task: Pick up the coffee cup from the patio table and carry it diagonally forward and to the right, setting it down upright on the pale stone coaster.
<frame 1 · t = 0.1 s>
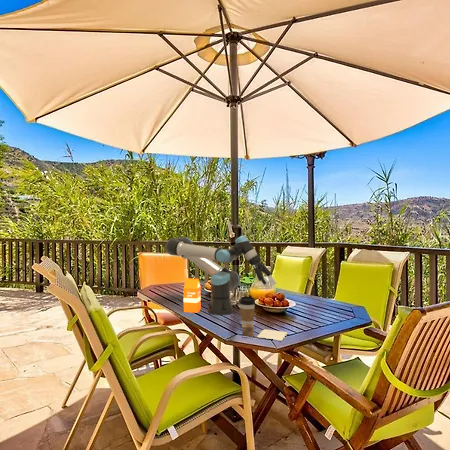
hand: (272, 286, 204), 15 cm above the table, tool tilted 35°, fingers open, 13 cm apart
coffee cup: (247, 326, 174), on the table
coaster: (272, 336, 159), on the table
orange juice: (192, 310, 206), on the table
walnut cube: (248, 335, 160), on the table
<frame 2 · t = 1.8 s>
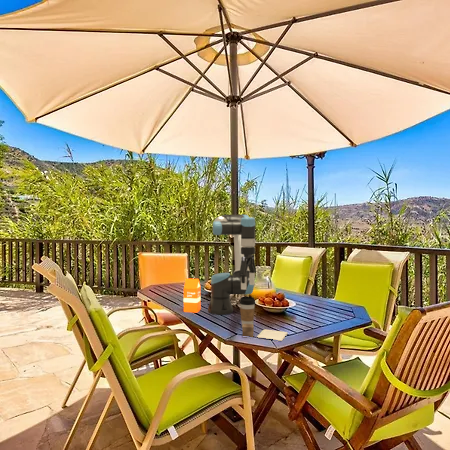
hand: (248, 287, 174), 21 cm above the table, tool pointing down, fingers open, 13 cm apart
nothing on the table moved.
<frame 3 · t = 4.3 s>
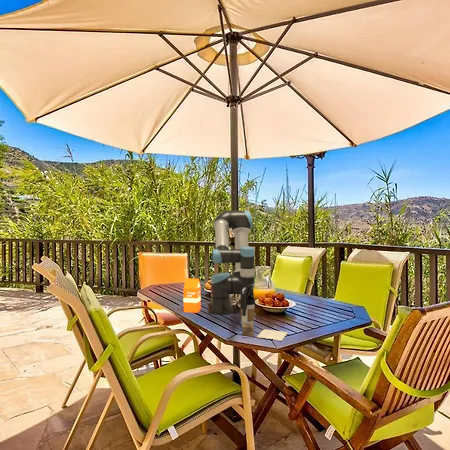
hand: (247, 319, 174), 4 cm above the table, tool pointing down, fingers closed on coffee cup, 8 cm apart
coffee cup: (247, 326, 174), on the table, touching gripper
everything else where it was.
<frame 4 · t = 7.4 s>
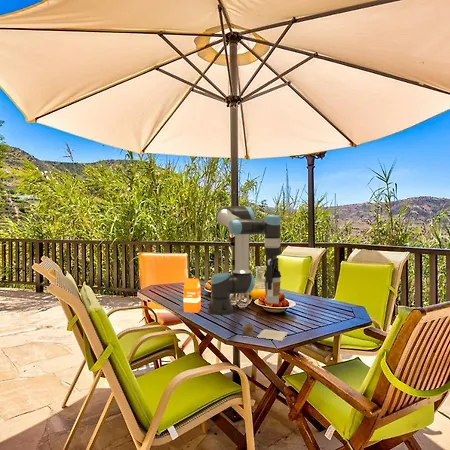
hand: (272, 294, 159), 20 cm above the table, tool pointing down, fingers closed on coffee cup, 8 cm apart
coffee cup: (272, 302, 159), point 16 cm above the table, touching gripper
everything else where it was.
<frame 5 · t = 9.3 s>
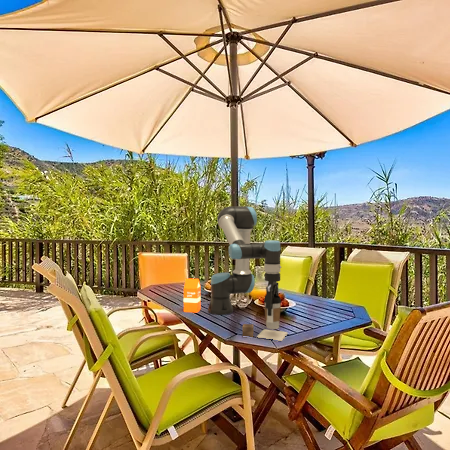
hand: (272, 319, 159), 8 cm above the table, tool pointing down, fingers closed on coffee cup, 8 cm apart
coffee cup: (272, 327, 159), point 4 cm above the table, touching gripper
everything else where it was.
when the fingers open (6 cm above the table, at t = 10.7 s): coffee cup drops 1 cm, resting on coaster.
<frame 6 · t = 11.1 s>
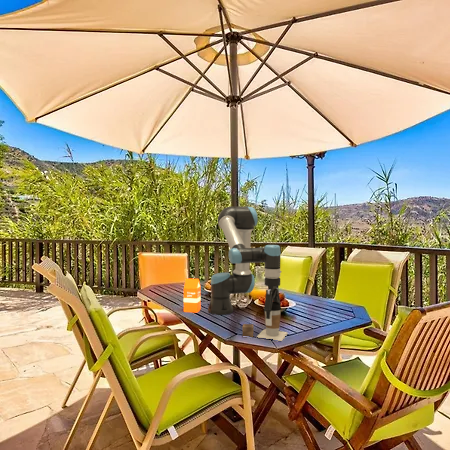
hand: (272, 321, 159), 7 cm above the table, tool pointing down, fingers open, 13 cm apart
coffee cup: (272, 334, 160), point 1 cm above the table, touching coaster
everything else where it was.
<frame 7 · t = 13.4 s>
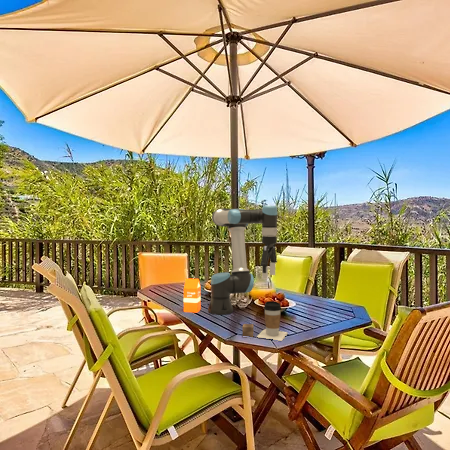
hand: (268, 277, 170), 27 cm above the table, tool pointing down, fingers open, 13 cm apart
nothing on the table moved.
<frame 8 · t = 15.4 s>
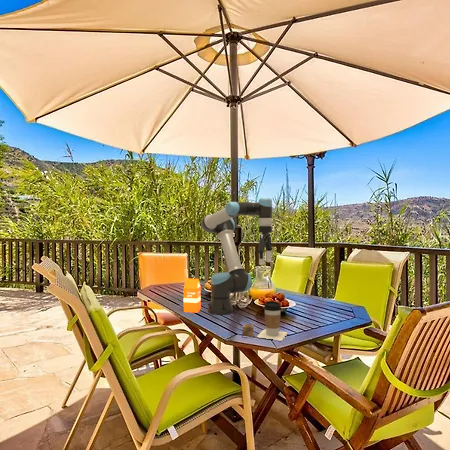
hand: (265, 263, 187), 32 cm above the table, tool pointing down, fingers open, 13 cm apart
nothing on the table moved.
at the end: coffee cup 0.4 cm from the coaster (horizontally); coffee cup tilted 0°; coffee cup point 0.6 cm above the table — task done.
